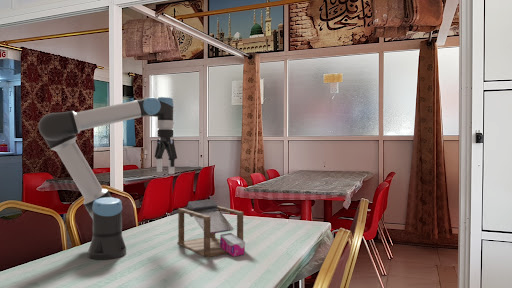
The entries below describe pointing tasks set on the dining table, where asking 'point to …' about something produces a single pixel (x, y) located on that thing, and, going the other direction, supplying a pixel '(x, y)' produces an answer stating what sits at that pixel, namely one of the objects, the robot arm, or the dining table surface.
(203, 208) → the trapdoor
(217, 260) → the dining table surface
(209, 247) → the frame
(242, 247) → the supplement box
